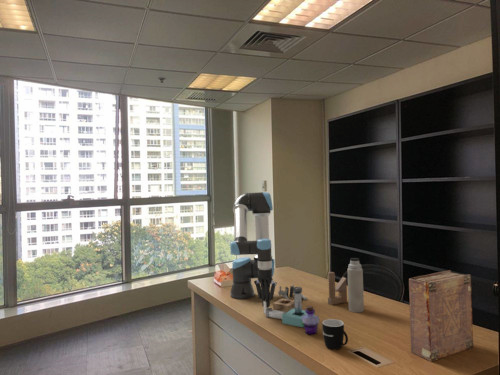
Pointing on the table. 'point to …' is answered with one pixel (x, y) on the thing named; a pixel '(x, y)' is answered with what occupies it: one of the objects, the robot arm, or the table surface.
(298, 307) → the metal flashlight
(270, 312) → the pale gray faceted bar
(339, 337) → the mug
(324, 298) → the table surface
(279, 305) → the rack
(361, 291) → the thermos bottle
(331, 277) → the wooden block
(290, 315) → the socket block
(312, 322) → the potion bottle
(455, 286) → the book
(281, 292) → the bike brake
